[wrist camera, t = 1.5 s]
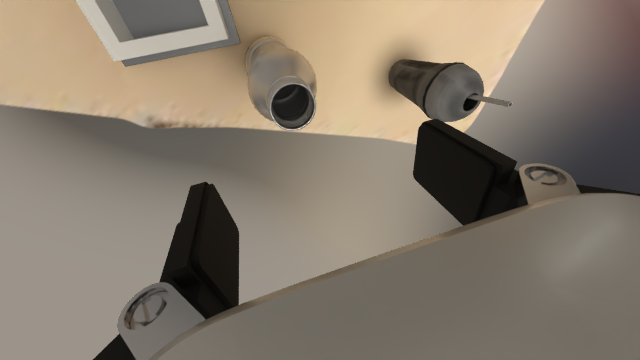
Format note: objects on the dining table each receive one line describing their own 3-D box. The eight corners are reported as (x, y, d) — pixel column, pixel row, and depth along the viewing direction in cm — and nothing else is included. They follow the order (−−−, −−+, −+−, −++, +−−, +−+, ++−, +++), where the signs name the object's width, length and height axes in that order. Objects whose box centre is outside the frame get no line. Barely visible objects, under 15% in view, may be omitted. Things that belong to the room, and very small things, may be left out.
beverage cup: (379, 99, 41) (464, 154, 25) (382, 52, 36) (488, 84, 21) (416, 93, 42) (519, 141, 26) (424, 47, 38) (553, 72, 22)
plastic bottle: (242, 81, 34) (243, 143, 18) (247, 27, 30) (254, 45, 15) (286, 91, 36) (321, 152, 20) (295, 42, 32) (346, 71, 17)
